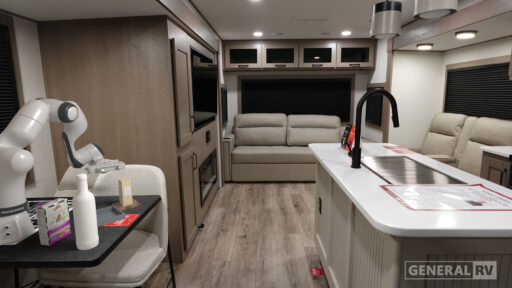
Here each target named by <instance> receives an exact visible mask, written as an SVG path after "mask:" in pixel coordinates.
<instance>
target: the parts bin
mask: <svg viewBox="0 0 512 288" xmlns="http://www.w3.org/2000/svg"><path fill="white" fill-rule="evenodd" d="M96 217H97V228H98V227H101V226H105V225H108V224H111V223H115V222H118V221H122V220H126V213H125V212H123V210H122V211H121V210H119V209H118V208H117V207H115V206H114V205H113V206H112V205H110V206H107V207H102V208H98V209H97V208H96Z"/></svg>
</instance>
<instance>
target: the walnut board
mask: <svg viewBox="0 0 512 288" xmlns="http://www.w3.org/2000/svg"><path fill="white" fill-rule="evenodd" d="M132 201H133V204H131V205H127V206H124V207H123V206H122V205H121V204H120V201H117V202H113V203H111V204H110V206H113V205H114V206H115V207H117V208H118V209H119V210H121V211H122V212H123V211H125V210H128V209H132V208H135V207H136V208H137V207H141V206H140V205H142V206H143V204H142V203H141V202H139V201H137V200H136V199H135V198H132Z"/></svg>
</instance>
